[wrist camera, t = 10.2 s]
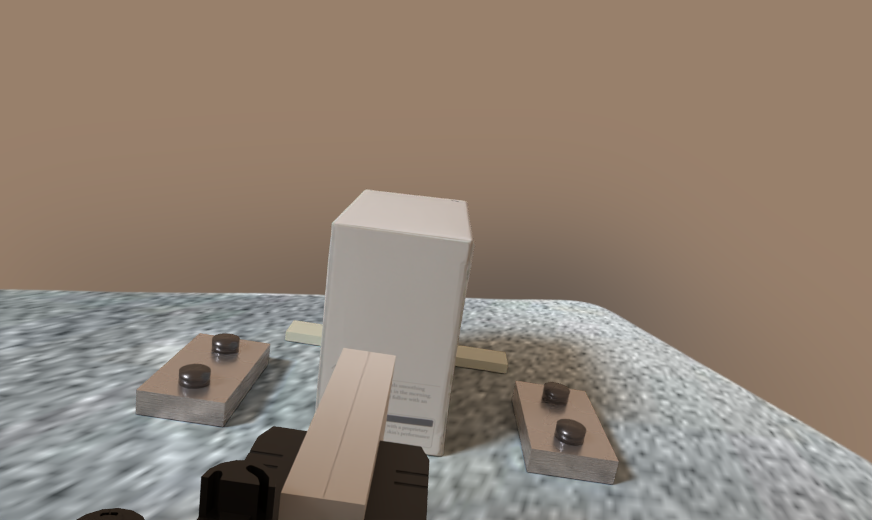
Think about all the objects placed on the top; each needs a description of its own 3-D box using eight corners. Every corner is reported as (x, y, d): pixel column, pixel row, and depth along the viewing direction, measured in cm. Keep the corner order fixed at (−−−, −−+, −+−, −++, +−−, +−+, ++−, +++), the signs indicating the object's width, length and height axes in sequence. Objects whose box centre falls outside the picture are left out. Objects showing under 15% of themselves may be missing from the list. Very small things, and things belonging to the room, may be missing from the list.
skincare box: (343, 350, 37) (363, 184, 35) (445, 365, 38) (472, 201, 35) (303, 440, 27) (328, 215, 25) (443, 460, 27) (482, 238, 25)
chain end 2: (526, 471, 27) (534, 436, 27) (511, 399, 34) (517, 371, 34) (612, 484, 27) (621, 449, 27) (580, 409, 34) (587, 381, 34)
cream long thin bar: (285, 340, 37) (286, 331, 37) (293, 328, 39) (294, 320, 39) (506, 373, 38) (507, 364, 37) (503, 360, 40) (505, 352, 39)
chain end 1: (135, 413, 27) (136, 377, 27) (198, 352, 34) (200, 323, 34) (223, 426, 27) (225, 390, 27) (268, 363, 34) (271, 334, 34)
